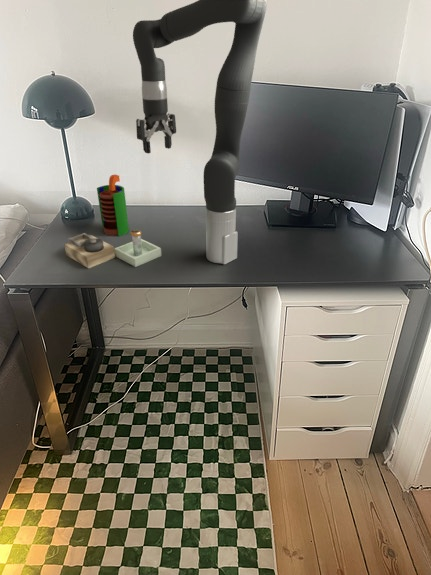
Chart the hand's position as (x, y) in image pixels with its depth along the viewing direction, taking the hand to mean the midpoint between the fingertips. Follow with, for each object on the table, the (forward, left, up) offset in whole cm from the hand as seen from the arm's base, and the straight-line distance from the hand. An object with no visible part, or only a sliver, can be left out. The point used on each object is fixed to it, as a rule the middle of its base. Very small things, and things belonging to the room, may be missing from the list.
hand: (158, 150), depth 146 cm
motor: (+16, +9, -30) cm, 35 cm away
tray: (-6, +16, -30) cm, 35 cm away
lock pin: (-6, +16, -30) cm, 34 cm away
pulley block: (+5, +27, -30) cm, 41 cm away
